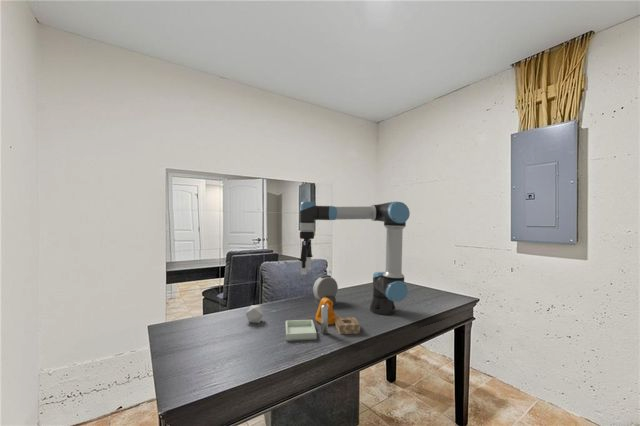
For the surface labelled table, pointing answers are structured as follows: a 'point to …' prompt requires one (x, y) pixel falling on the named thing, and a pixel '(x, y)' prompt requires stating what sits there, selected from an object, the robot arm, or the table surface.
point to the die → (255, 314)
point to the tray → (300, 330)
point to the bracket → (330, 311)
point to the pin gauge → (324, 319)
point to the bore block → (347, 325)
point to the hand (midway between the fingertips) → (306, 271)
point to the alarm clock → (325, 289)
